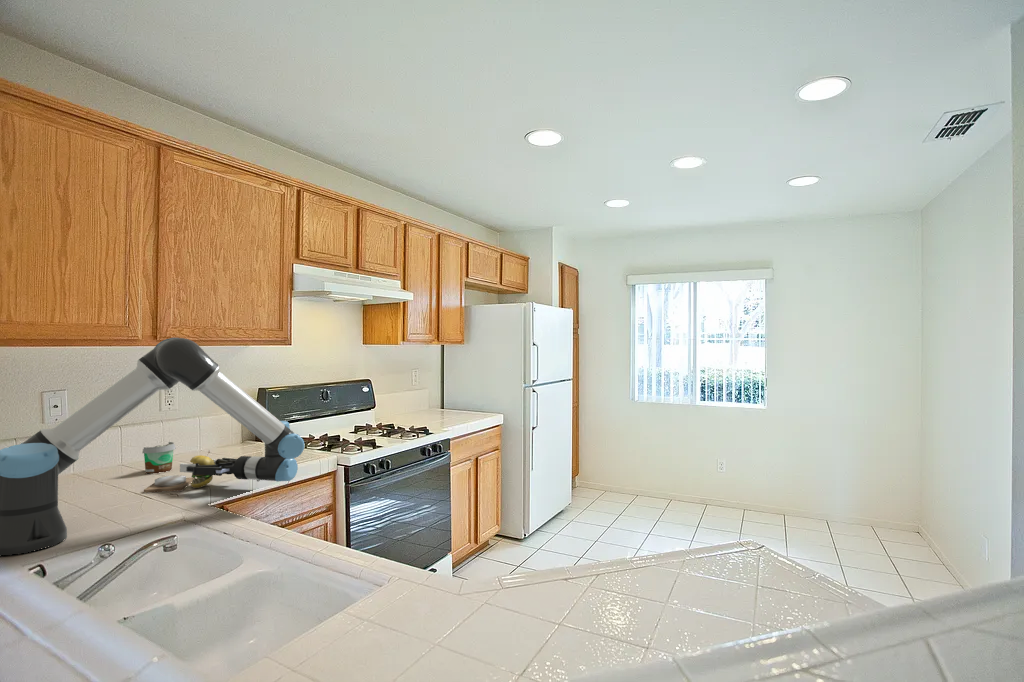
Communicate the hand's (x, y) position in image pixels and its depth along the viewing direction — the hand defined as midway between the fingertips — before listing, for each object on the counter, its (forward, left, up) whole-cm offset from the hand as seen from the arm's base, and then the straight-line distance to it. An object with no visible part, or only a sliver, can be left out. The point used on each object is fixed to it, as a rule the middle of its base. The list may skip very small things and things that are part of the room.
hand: (189, 465), depth 183 cm
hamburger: (+4, -2, -7) cm, 9 cm away
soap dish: (-6, +1, -7) cm, 9 cm away
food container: (-16, +25, -7) cm, 31 cm away
